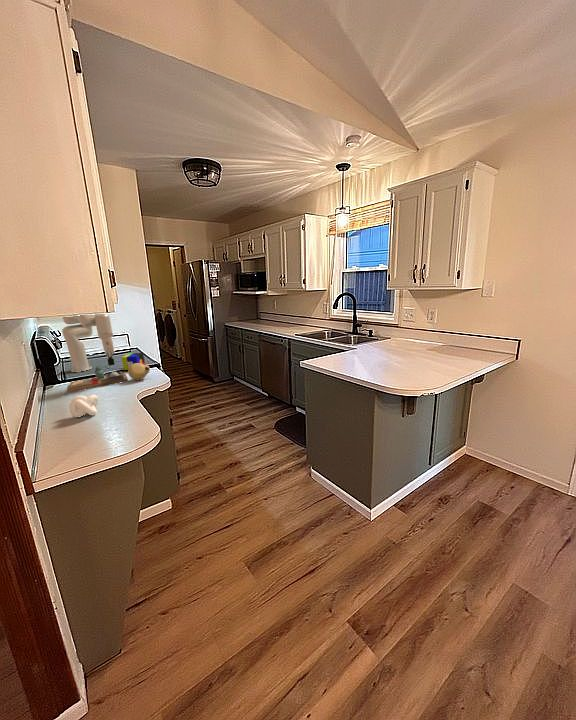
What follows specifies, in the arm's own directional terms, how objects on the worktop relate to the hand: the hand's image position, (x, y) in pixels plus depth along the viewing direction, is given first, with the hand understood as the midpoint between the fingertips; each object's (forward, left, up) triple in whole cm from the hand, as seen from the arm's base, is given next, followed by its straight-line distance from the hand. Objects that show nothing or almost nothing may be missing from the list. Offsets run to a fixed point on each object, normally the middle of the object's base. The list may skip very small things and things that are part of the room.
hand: (111, 364), depth 193 cm
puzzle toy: (-22, +14, -11) cm, 28 cm away
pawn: (-7, -7, -9) cm, 14 cm away
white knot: (+47, -15, -11) cm, 51 cm away
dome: (+1, 0, -9) cm, 9 cm away
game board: (-4, -8, -11) cm, 14 cm away
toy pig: (+7, +14, -11) cm, 19 cm away
